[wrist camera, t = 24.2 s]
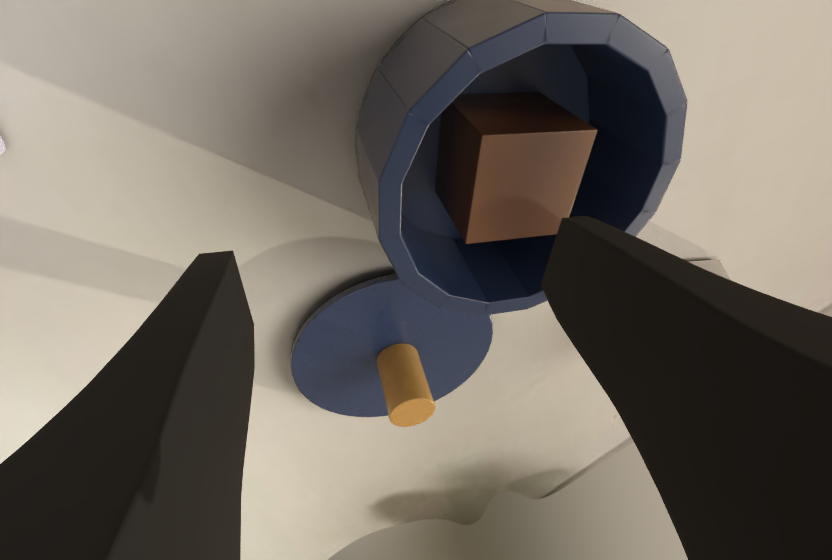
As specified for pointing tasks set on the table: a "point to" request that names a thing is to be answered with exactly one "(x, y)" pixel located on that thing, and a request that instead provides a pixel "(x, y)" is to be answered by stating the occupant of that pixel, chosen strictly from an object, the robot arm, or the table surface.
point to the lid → (386, 352)
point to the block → (509, 164)
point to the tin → (513, 73)
